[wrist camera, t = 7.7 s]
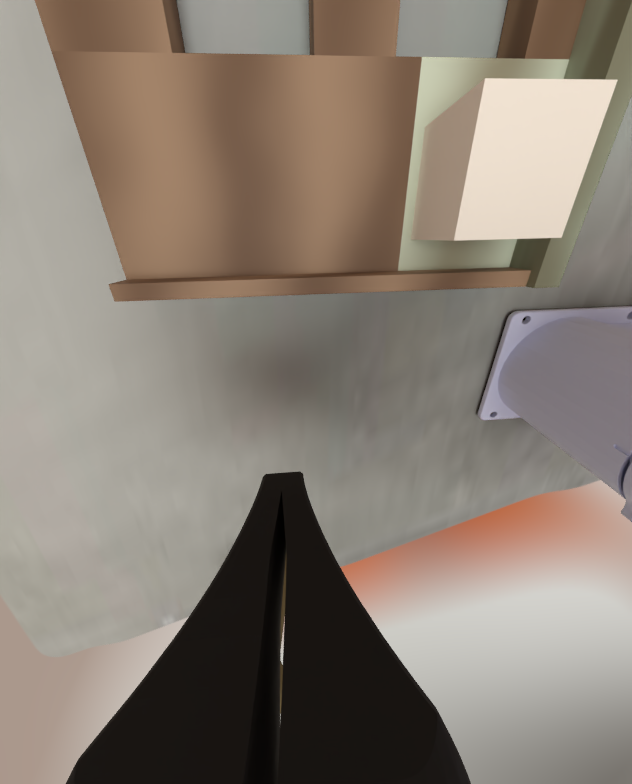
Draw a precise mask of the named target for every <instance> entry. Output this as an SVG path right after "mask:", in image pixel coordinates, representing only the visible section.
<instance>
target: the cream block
mask: <svg viewBox="0 0 632 784" xmlns="http://www.w3.org/2000/svg"><path fill="white" fill-rule="evenodd" d="M617 81H618V80H603V79H503V78H485V79H484V80H482V81H481V82H480V83H479V84H478V85H476V86H475V87H474V88H473V89H471V90H470V91H469V92H468V93H466V94H465V95H464V96H463V97H461V98H460V99H459V100H458V101H457V102H455V103H454V104H453V105H452V106H450V107H449V108H448V109H447V110H445V111H444V112H443V113H442V114H440V115H439V116H438V117H437V118H436V119H434V120H433V121H432V122H431V123H429V124H428V125H427V126H426V127H425V130H424V138H423V146H422V154H421V162H420V170H419V178H418V186H417V194H416V201H415V209H414V217H413V225H412V233H411V240H448V241H459V240H495V239H532V238H562V235H563V232H564V229H565V227H566V224H567V221H568V218H569V215H570V213H571V210H572V207H573V204H574V201H575V198H576V196H577V193H578V190H579V187H580V184H581V182H582V179H583V176H584V173H585V170H586V168H587V165H588V162H589V159H590V156H591V154H592V151H593V148H594V145H595V142H596V140H597V137H598V134H599V131H600V128H601V126H602V123H603V120H604V117H605V114H606V111H607V109H608V106H609V103H610V100H611V97H612V95H613V92H614V89H615V86H616V83H617Z"/></svg>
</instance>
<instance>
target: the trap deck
mask: <svg viewBox="0 0 632 784" xmlns="http://www.w3.org/2000/svg"><path fill="white" fill-rule="evenodd" d="M35 2H36V5H37V8H38V11H39V15H40V18H41V21H42V24H43V27H44V30H45V33H46V36H47V39H48V42H49V45H50V48H51V51H52V54H53V57H54V60H55V63H56V66H57V69H58V72H59V75H60V78H61V81H62V84H63V87H64V91H65V94H66V97H67V100H68V103H69V106H70V109H71V112H72V115H73V118H74V121H75V124H76V127H77V130H78V133H79V136H80V139H81V142H82V145H83V148H84V151H85V154H86V157H87V160H88V163H89V167H90V170H91V173H92V176H93V179H94V182H95V185H96V188H97V191H98V194H99V197H100V200H101V203H102V206H103V209H104V212H105V215H106V218H107V221H108V224H109V227H110V230H111V233H112V236H113V239H114V242H115V246H116V249H117V252H118V255H119V258H120V261H121V264H122V267H123V270H124V273H125V276H126V279H127V280H124V281H120V282H116V283H112V284H109V287H110V289H111V292H112V295H113V298H114V301H143V300H170V299H197V298H224V297H251V296H278V295H305V294H332V293H359V292H386V291H413V290H440V289H467V288H494V287H521V286H527V287H532V288H547V287H559V285H560V282H561V279H562V277H563V274H564V272H565V269H566V266H567V264H568V261H569V258H570V256H571V253H572V251H573V248H574V245H575V243H576V240H577V237H578V235H579V232H580V230H581V227H582V224H583V222H584V219H585V216H586V214H587V211H588V209H589V206H590V203H591V201H592V198H593V195H594V193H595V190H596V188H597V185H598V182H599V180H600V177H601V175H602V172H603V169H604V167H605V164H606V161H607V159H608V156H609V154H610V151H611V148H612V146H613V143H614V140H615V138H616V135H617V133H618V130H619V127H620V125H621V122H622V119H623V117H624V114H625V112H626V109H627V106H628V104H629V101H630V98H631V96H632V0H508V4H507V9H506V14H505V19H504V24H503V29H502V34H501V39H500V44H499V49H498V54H497V58H451V57H396V46H397V33H398V21H399V9H400V0H309V27H310V55H268V54H207V53H185V50H184V44H183V38H182V32H181V26H180V20H179V14H178V9H177V3H176V0H35ZM485 78H503V79H603V80H618V81H617V83H616V86H615V89H614V92H613V95H612V97H611V100H610V103H609V106H608V109H607V111H606V114H605V117H604V120H603V123H602V126H601V128H600V131H599V134H598V137H597V140H596V142H595V145H594V148H593V151H592V154H591V156H590V159H589V162H588V165H587V168H586V170H585V173H584V176H583V179H582V182H581V184H580V187H579V190H578V193H577V196H576V198H575V201H574V204H573V207H572V210H571V213H570V215H569V218H568V221H567V224H566V227H565V229H564V232H563V235H562V238H532V239H495V240H459V241H448V240H411V233H412V225H413V217H414V209H415V201H416V194H417V186H418V178H419V170H420V162H421V154H422V146H423V138H424V130H425V127H426V126H427V125H428V124H429V123H431V122H432V121H433V120H434V119H436V118H437V117H438V116H439V115H440V114H442V113H443V112H444V111H445V110H447V109H448V108H449V107H450V106H452V105H453V104H454V103H455V102H457V101H458V100H459V99H460V98H461V97H463V96H464V95H465V94H466V93H468V92H469V91H470V90H471V89H473V88H474V87H475V86H476V85H478V84H479V83H480V82H481V81H482V80H484V79H485Z"/></svg>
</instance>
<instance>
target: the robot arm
mask: <svg viewBox="0 0 632 784" xmlns="http://www.w3.org/2000/svg"><path fill="white" fill-rule="evenodd" d="M524 317H526V319H525V320H524V321H523V322H522V320H523V318H524ZM492 412H493V413H492ZM491 413H492V414H491ZM478 416H479V418H481V419H482V420H495V419H510V418H522V419H524V420H525V421H526V422H527V423H529V424H530V425H531V426H532V427H534V428H535V429H536V430H538V431H539V432H540V433H541V434H543V435H544V436H545V437H547V438H548V439H549V440H550V441H552V442H553V443H554V444H556V445H557V446H558V447H559V448H561V449H562V450H563V451H565V452H566V453H567V454H568V455H570V456H571V457H572V458H573V459H575V460H576V461H577V462H579V463H580V464H581V465H582V466H584V467H585V468H586V469H588V470H589V471H590V472H591V473H593V474H594V475H595V476H597V477H598V478H599V479H600V480H602V481H603V482H604V483H605V484H607V485H608V486H609V487H611V488H612V489H613V490H615V491H616V492H617V493H618V494H620V495H621V496H622V497H624V498H625V499H626V504H625V506H624V508H623V509H622V511H621V513H622V514H623V515H624V516H625V517H626V518H628V519H629V520H630V521H631V522H632V306H620V307H597V308H573V309H550V310H526V311H515V312H513V313H511V314H510V315H509V317H508V319H507V322H506V325H505V328H504V331H503V334H502V338H501V341H500V344H499V347H498V350H497V354H496V357H495V360H494V363H493V366H492V369H491V373H490V376H489V379H488V382H487V385H486V389H485V392H484V395H483V398H482V401H481V405H480V408H479V411H478ZM285 561H286V597H285V628H284V653H283V654H284V655H283V678H282V700H281V722H280V634H281V609H282V597H283V585H284V573H285ZM66 784H471V783H470V780H469V777H468V774H467V772H466V769H465V767H464V765H463V762H462V760H461V757H460V755H459V753H458V751H457V748H456V746H455V744H454V742H453V740H452V738H451V736H450V734H449V732H448V730H447V728H446V726H445V724H444V722H443V720H442V718H441V717H440V715H439V713H438V711H437V709H436V707H435V706H434V705H433V703H432V702H431V701H430V699H429V698H428V697H427V696H426V694H425V693H424V692H423V690H422V689H421V688H420V686H419V685H418V684H417V682H416V681H415V680H414V678H413V677H412V676H411V674H410V673H409V672H408V670H407V669H406V668H405V666H404V665H403V664H402V662H401V661H400V660H399V658H398V657H397V655H396V654H395V652H394V651H393V650H392V648H391V647H390V646H389V644H388V643H387V641H386V640H385V638H384V637H383V635H382V634H381V632H380V631H379V629H378V628H377V626H376V625H375V623H374V622H373V621H372V619H371V617H370V616H369V614H368V613H367V611H366V610H365V608H364V607H363V605H362V604H361V602H360V600H359V599H358V597H357V596H356V594H355V592H354V591H353V589H352V587H351V586H350V584H349V582H348V581H347V579H346V577H345V575H344V574H343V572H342V570H341V568H340V566H339V565H338V563H337V561H336V559H335V557H334V555H333V553H332V551H331V549H330V547H329V545H328V543H327V541H326V539H325V537H324V535H323V533H322V530H321V528H320V526H319V524H318V521H317V519H316V516H315V514H314V512H313V509H312V506H311V504H310V501H309V498H308V495H307V491H306V488H305V483H304V478H303V474H302V473H301V472H288V473H275V474H266V475H265V476H263V479H262V482H261V485H260V488H259V491H258V494H257V496H256V499H255V501H254V503H253V506H252V508H251V510H250V512H249V515H248V517H247V519H246V521H245V523H244V525H243V527H242V529H241V531H240V533H239V535H238V537H237V539H236V541H235V543H234V545H233V546H232V548H231V550H230V552H229V554H228V556H227V558H226V559H225V561H224V563H223V564H222V566H221V568H220V570H219V571H218V573H217V575H216V576H215V578H214V580H213V581H212V583H211V584H210V586H209V588H208V589H207V591H206V592H205V594H204V595H203V597H202V598H201V600H200V601H199V603H198V604H197V606H196V607H195V609H194V610H193V612H192V613H191V615H190V616H189V618H188V619H187V621H186V622H185V624H184V625H183V626H182V628H181V629H180V631H179V632H178V633H177V635H176V636H175V638H174V639H173V640H172V642H171V643H170V645H169V646H168V647H167V648H166V650H165V651H164V652H163V654H162V655H161V656H160V658H159V659H158V660H157V662H156V663H155V664H154V666H153V667H152V668H151V670H150V671H149V672H148V674H147V675H146V676H145V678H144V679H143V680H142V682H141V683H140V684H139V685H138V687H137V688H136V689H135V691H134V692H133V693H132V694H131V696H130V697H129V698H128V700H127V701H126V702H125V703H124V704H123V705H122V707H121V708H120V709H119V710H118V711H117V713H116V714H115V715H114V716H113V717H112V719H111V720H110V721H109V722H108V724H107V725H106V726H105V727H104V728H103V730H102V731H101V732H100V733H99V735H98V736H97V737H96V738H95V739H94V741H93V742H92V743H91V744H90V746H89V747H88V748H87V749H86V751H85V752H84V753H83V754H82V755H81V757H80V758H79V759H78V761H77V763H76V765H75V767H74V768H73V770H72V772H71V775H70V776H69V778H68V780H67V782H66Z"/></svg>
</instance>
